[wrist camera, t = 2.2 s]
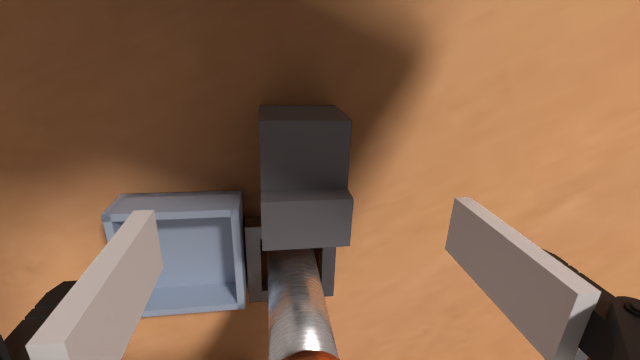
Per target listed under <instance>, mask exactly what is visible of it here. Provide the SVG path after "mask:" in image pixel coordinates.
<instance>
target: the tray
mask: <svg viewBox="0 0 640 360" xmlns="http://www.w3.org/2000/svg"><path fill="white" fill-rule="evenodd" d="M134 210H154V212H155V218H156V224H157V230H158V236H159V242H160V248H161V254H162V260H163V266H164V267H163V269H162V272H161V274H160V276H159V278H158V280H157V282H156V285H155V287H154V289H153V291H152V293H151V296H150V298H149V300H148V302H147V304H146V306H145V309H144V311H143V313H142V315H141V317H152V316H164V315H176V314H188V313H200V312H212V311H224V310H236V309H245V302H246V289H247V273H246V256H245V240H244V223H243V207H242V190H239V191H207V192H174V193H141V194H120V195H119V197H118V198H117V199H116V200H115V201H114V202H113V203H112V204H111V205H110V206H109V207H108V208H107V209H106V210H105V211H104V212H103V213H102V214H101V217H102V221H103V226H104V230H105V234H106V238H107V243H108V242H109V241H110V240H111V238H112V237H113V236H114V235H115V233H116V232H117V231H118V230H119V228H120V227H121V226H122V225H123V223H124V222H125V221H126V220H127V218H128V217H129V216H130V215H131V213H132V212H133V211H134Z"/></svg>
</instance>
